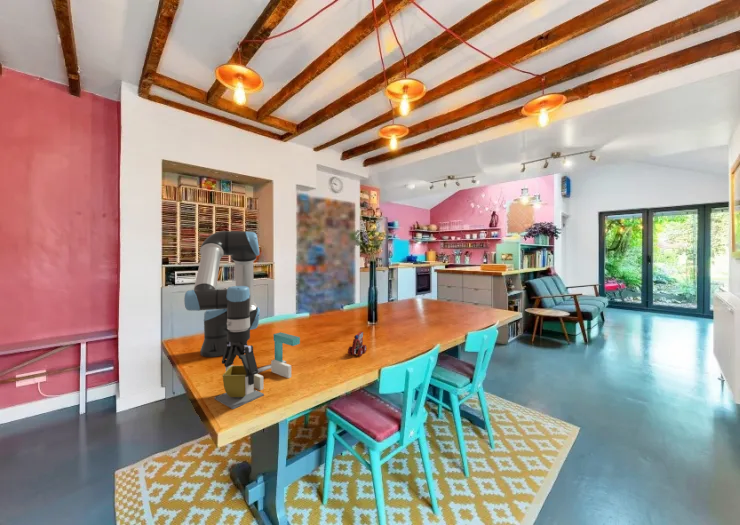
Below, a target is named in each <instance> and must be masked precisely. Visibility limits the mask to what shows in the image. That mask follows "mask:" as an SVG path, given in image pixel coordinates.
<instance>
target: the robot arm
mask: <svg viewBox="0 0 740 525" xmlns="http://www.w3.org/2000/svg"><path fill="white" fill-rule="evenodd" d="M258 240H259V238H258V235H257V233H256V232H253V231H246V230H245V231H244V230H243V231H242V230H241V231H238V230H236V231H235V230H232V231H230V230H221V231H216V232H214V233H213V234H211V235H209V236H208V237H207V238H206V239H205V240H204V241H203V242H202V244H201V246H200V249H199V254H200V256H201V257H200V259H199V260H200V261H199V265H198V270H197V274H196V277H195V283H194V287H193V289H190V290H187V291H185V294H184V300H183V302H184V308H185V309H186V310H187V311H204V314H203V315H204V316H203V325H204V326H203V328H204V329H203V330H204V331H203V332H204V335H203V337H204V339H203V342H202V345H201V347H200V356H201V357H205V358H216V357H222V359H221V364H224V367H225V372H226V371H227V370H228V369H229V368H230V367H231V366H235V364H234V361H235V359H236V357H238V359H239V360H240V361H241V363H242V366H244V369H245V371H246V374H247V375H246V376H245V393H246V395H247V394H250V393H252V392H254V389H255V388H254V375H255V374H259V373H258V369H259V368H258V366H257V361H256V358H255V354H254V346H253V345H248V341H249V340H250V339H251V330H255V329H257V328H258V326H259V323H260V322H259V321H260V312H261V310H260V307H259V306H258V305H257V303H256V302H255V297H254V296H255V294H254V293H255V292H254V290H255V288H254V284H255V282H254V281H255V280H254V262H255V261H256V260H257V257H258V256H260V247H259V241H258ZM224 256H230V259H231V260H232V261H233V262H234V274H235V275H234V277H235V278H234V279H235V280H234V281H235V282H234V283H235V285H232V286H228V288H225V289H224V288H222V289H219V288H218V289H217V286H218V278H219V271H220V265H221V259H222V258H223V257H224ZM254 370H255V371H254Z"/></svg>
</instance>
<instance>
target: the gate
mask: <svg viewBox="0 0 740 525" xmlns="http://www.w3.org/2000/svg"><path fill="white" fill-rule="evenodd" d="M273 341H274V360H277V361H280V362H283V360H284V358H283V357H284V356H283V352H284V349H283V344H284V345H289V346H292V347H295V346H297V345H300V344H301V337H300V336H296V335H294V334H293V335H292V334H288V333H286V332H281V331H280V332H277V333H273Z"/></svg>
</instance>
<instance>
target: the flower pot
mask: <svg viewBox="0 0 740 525" xmlns="http://www.w3.org/2000/svg"><path fill="white" fill-rule="evenodd" d="M254 371H255V370H254ZM246 375H247V374H246V371H245V369H244V366H243V365H234V366H231V367H230V368H229V369H228V370H227V371H226V370H225V372H224V373H223V374H222V381H223V387H224V391H225V393H227V394H228V396H229V397H244V396H245V395H246V393H245V376H246Z"/></svg>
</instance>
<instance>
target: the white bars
mask: <svg viewBox="0 0 740 525" xmlns="http://www.w3.org/2000/svg"><path fill="white" fill-rule="evenodd" d="M270 362H271V363H270V364H268V365H264V366H262V367H259V368H257V369H258V373H257V374H255V375H254V389H255V390H256V389H257V391H262V390H264V387H265V386H264V382H265V381H264V376H263V375H262V374H260V373H262V372H265V371H267V370H271V373H274V374H276V375H278V376H281V377H284V378H286V379H290V378H292V365H291V364H289V363H287V361H286V360H285V359H283V362H280V361H277V360H275V359H272V360H271V361H270Z"/></svg>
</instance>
